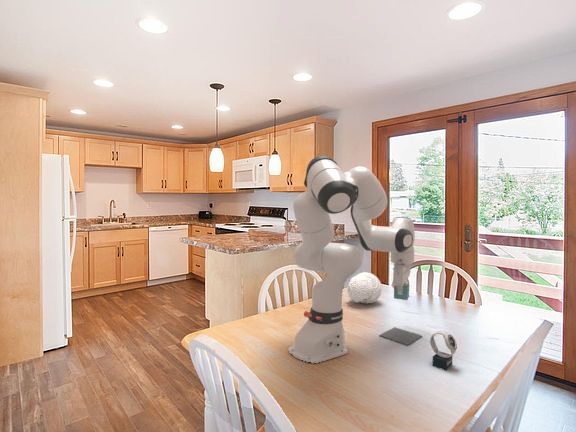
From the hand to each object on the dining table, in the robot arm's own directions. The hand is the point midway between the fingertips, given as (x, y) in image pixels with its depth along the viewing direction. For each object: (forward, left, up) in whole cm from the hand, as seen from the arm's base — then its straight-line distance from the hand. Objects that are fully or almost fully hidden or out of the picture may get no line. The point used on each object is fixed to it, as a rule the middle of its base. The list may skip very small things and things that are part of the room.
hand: (401, 292), depth 133 cm
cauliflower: (+24, +33, -18) cm, 45 cm away
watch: (-11, -21, -18) cm, 30 cm away
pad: (0, 0, -18) cm, 18 cm away
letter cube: (0, 0, -2) cm, 2 cm away
